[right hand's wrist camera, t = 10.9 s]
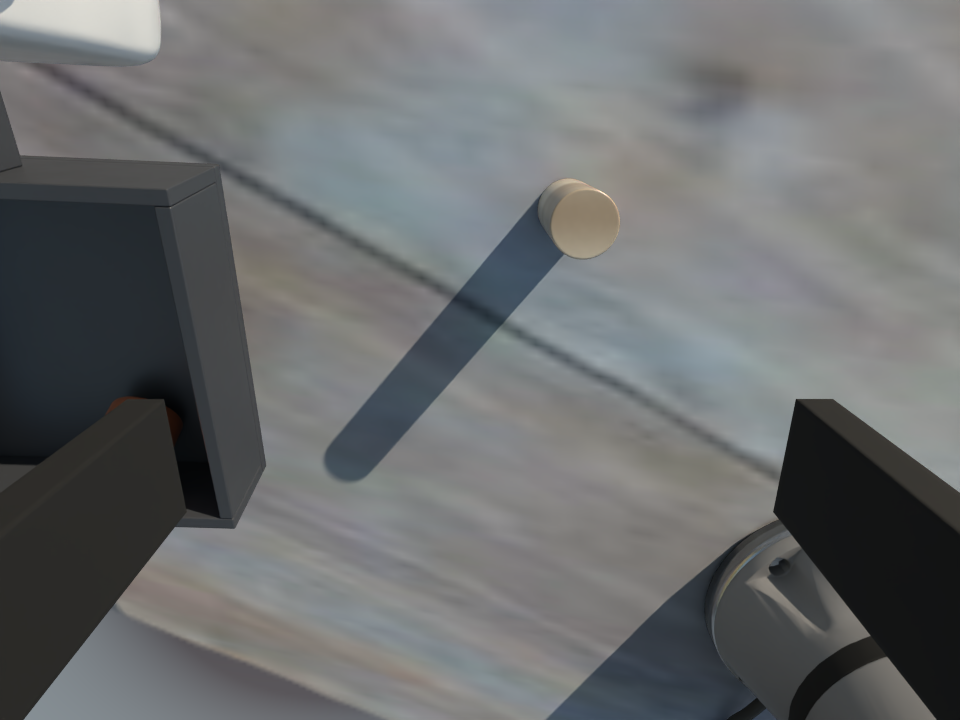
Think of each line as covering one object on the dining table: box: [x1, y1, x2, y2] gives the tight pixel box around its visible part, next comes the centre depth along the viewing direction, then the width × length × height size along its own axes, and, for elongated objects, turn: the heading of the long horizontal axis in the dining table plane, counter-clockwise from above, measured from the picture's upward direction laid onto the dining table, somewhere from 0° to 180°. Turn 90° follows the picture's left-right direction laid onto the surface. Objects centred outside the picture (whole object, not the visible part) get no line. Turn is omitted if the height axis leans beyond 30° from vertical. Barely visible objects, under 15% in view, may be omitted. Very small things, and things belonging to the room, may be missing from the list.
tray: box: [0, 92, 266, 529], centre depth 23 cm, size 24×15×5 cm, turn 177°
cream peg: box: [538, 179, 620, 259], centre depth 30 cm, size 3×3×6 cm
